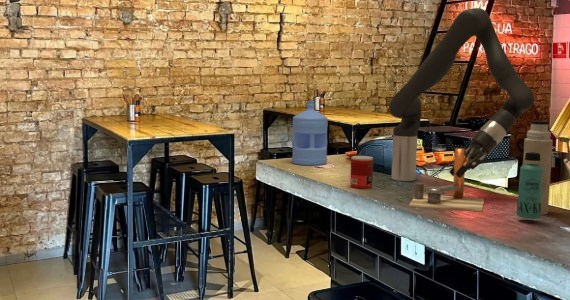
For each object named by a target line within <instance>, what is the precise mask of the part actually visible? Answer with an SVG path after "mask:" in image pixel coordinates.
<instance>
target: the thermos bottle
mask: <svg viewBox="0 0 570 300" xmlns="http://www.w3.org/2000/svg"><path fill="white" fill-rule="evenodd" d="M551 136H552V132H551V131H549V121H546V120H531V121H530V129H529V130H527V133H526V138H524V139H523V141H524V142H523V143H524V144H523V157H522V165H524V164H539V165H540V166H541V167H542V168H543V169H544V170H543V181H542V185H543V186H542V197H541V202H542V204H541V209H540V213H541V214H540V216H543V215H547V214H548V213H549V201H550V189H551V188H550V185H551V172H552V170H551V169H552V158H553V157H552V156H553V142H554V141H553V139H551ZM527 152H535V153H540V161H529V160H525V155H526V153H527Z"/></svg>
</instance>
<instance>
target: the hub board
mask: <svg viewBox="0 0 570 300" xmlns="http://www.w3.org/2000/svg"><path fill="white" fill-rule="evenodd" d="M484 203H485V198H479V197H466V196H465V197H464V196H463V198H455V197H453V195H452V196H451V195H442V194H431V193H427V194H425V184H424V183H421V182H417V183H415V182H414V197H413V198H412V200H411V201H410V202H409V205H408V206H409V207H416V208H431V209H442V210H443V209H444V210H453V211H467V212H479V213H480V212H481V213H482V212H483V208H484Z"/></svg>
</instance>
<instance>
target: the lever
mask: <svg viewBox="0 0 570 300" xmlns="http://www.w3.org/2000/svg"><path fill="white" fill-rule="evenodd" d="M466 150H467V148H463V149H462V148H461V147H460V148H459V147H458V148H454V163H453V164H454V165H453V167H454V176H453V182H452V184H448V185H441V186H426V187H425V186H424V193H427V194H428V193H431V194H441V195H442V194H444V193H445V192H451V191H452V196H453V197H455V198H463V197H464V195H465V194H464V192H465V187H464V186H465V174H464V175H463V176H462V177H461V178H459V177H457V176H456V174H455V173H456V172H457V171H458V169H459V168H460V167H461V166H462V165H463V164H464V163H465V159H466V158H465V153H466ZM463 166H464V165H463Z"/></svg>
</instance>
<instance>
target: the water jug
mask: <svg viewBox="0 0 570 300" xmlns="http://www.w3.org/2000/svg"><path fill="white" fill-rule="evenodd" d="M306 103H307V104H306V110H304V111H302V112H300V113H298V114H297V115H294V116H293V117H292V143H291V144H292V157H291V162H292V163H293V164H294V165H298V166H310V167H311V166H323V165H326V164H327V163H328V162H327V161H328V158H327V157H328V126H329V125H328V117H327V116H325V115H324V114H322V113H320V112H318V111H316V110H315V104H314V103H315V101H314V100H307V101H306Z"/></svg>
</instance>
